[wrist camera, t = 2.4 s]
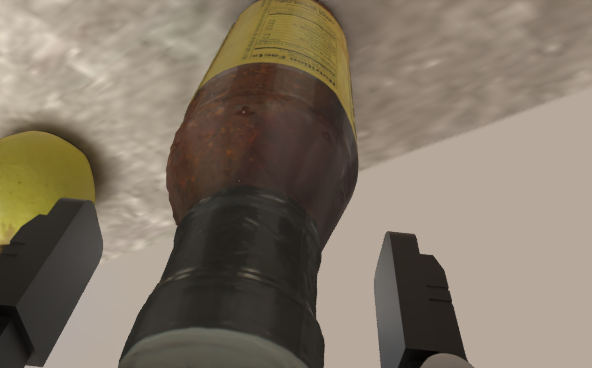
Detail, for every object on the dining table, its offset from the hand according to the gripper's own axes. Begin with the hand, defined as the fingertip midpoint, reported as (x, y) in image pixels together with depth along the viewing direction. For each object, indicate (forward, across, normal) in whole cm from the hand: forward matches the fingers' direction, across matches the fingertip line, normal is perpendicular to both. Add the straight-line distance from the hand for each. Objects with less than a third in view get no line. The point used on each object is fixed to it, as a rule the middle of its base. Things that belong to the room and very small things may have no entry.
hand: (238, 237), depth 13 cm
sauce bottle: (+15, 0, 0) cm, 15 cm away
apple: (+16, +14, +10) cm, 24 cm away
